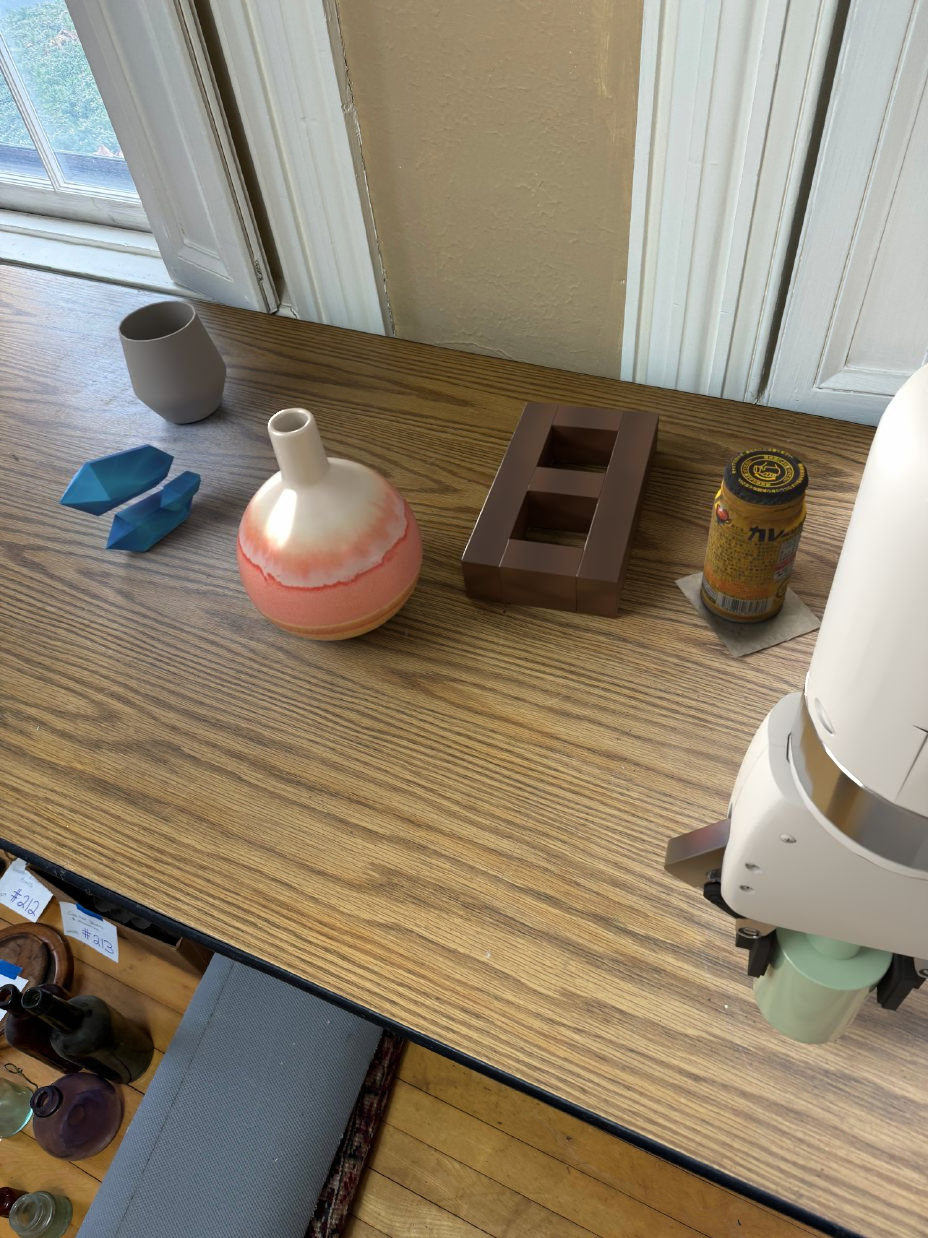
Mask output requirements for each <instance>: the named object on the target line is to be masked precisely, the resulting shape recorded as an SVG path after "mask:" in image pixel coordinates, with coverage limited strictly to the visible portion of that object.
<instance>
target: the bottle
mask: <svg viewBox="0 0 928 1238" xmlns="http://www.w3.org/2000/svg"><path fill="white" fill-rule="evenodd" d="M893 955H894V953H893V952H888V951H884V950H879V949H875V948H870V947H866V946H861V945H857V944H852V943H848V942H843V941H839V940H834V939H830V938H826V937H821V936H817V935H812V934H808V933H804V932H800V931H795V930H791V929H787V928H783V927H777V928H776V941H775V949H774V952H773V955H772V957H771V960H770V962H769V965H768V968H767V970H766V973H765V975H764V976H761V975H760V978H756V977H752V978H753V979H752V987H753V988H752V990H753V995H754V999H755V1003H756V1005H757V1007H758V1009H759V1011H760V1013H761V1014H762V1016H763V1017H764V1019H765V1020H766V1021H767V1022H768V1024H769V1025H770V1026H772V1027H773V1028H774V1030H776V1031H777V1032H779V1033H780V1034H781V1035H783V1036H784V1037H786V1038H788V1039H790V1040H793V1041H794V1042H798V1043H801V1044H805V1045H806V1044H807V1045H824V1044H828V1043H831V1042H833V1041H835V1040H837V1039H839V1038H840V1037H841V1036H843V1035H844V1034H845V1033H846V1032H847V1031H848V1029H849V1028H850V1027H851V1025H852V1024H853V1022H854V1021H855V1019H856V1018H857V1016H858V1015H859V1013H860V1012H861V1011H862V1009H863V1007H864V1006H865V1005H866V1004H867V1002H868V1000H869V999H870V998H871V996H872V994H873V993H874V991H875V990H876V989H877V986H878V984H879V983H880V981H881V980H882V978H883V977H884V975H885V974H886V972H887V971H888V969H889V967H890V965H891V962H892V959H893Z"/></svg>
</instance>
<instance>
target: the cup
mask: <svg viewBox="0 0 928 1238" xmlns="http://www.w3.org/2000/svg"><path fill="white" fill-rule="evenodd" d="M117 331H118V336H119V339H120V345H121V348H122V351H123V355H124V359H125V363H126V367H127V371H128V375H129V379H130V383H131V386H132V391H133V393H134V395H135V396H136V398H137V399H138V400H140V402H142V403H143V404H144V405H145V406H146V407H147V408H149V409H150V410H152V411H153V412H155V414H157V415H158V416H159V417H161V419H163V420H165V421H166V422H170V423H174V424H190V423H194V422H195V423H196V422H198V421H201V420H203V419H205V418H207V417H209V416H210V415H212V414H213V413H214V412H216V410H217V409H218V408H219V407H220V406H221V403H222V400H223V395H224V391H225V386H226V385H225V384H226V378H227V367H226V364H225V360H224V358H223V356H222V354H221V352H220V351H219V348H218V347H217V345H216V343H215V342H214V340H213V338H212V336H211V335H210V332H209V331H208V329H207V328H206V325H205V324H204V322H203V320H202V319H201V317H200V315H199V314H198V312H197V309H196V308H195V306H193V305H192V304H190V303H189V302H187V301H181V300H163V301H156V302H153V303H150V304H147V305H143V306H141V307H139V308H137V309H135V310H133V311H131V312H130V313H128V314H126V316H125V317H124V318H122V320H120V323H119V325H118V326H117Z"/></svg>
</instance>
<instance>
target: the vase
mask: <svg viewBox="0 0 928 1238" xmlns="http://www.w3.org/2000/svg"><path fill="white" fill-rule="evenodd" d="M267 430H268V435H269V438H270V442H271V445H272V447H273V452H274V455H275V458H276V461H277V465H278V467H279V470H278V471H277V472H276V473H275V474H273V475H271V477H269V478H268V479H267V480H266V481H265V482H264V483H263V484H262V485H260V487H259V489H257V491H256V492H255V494H254V495H253V497H252V498H251V499H250V501H249V503H248V505H247V506H246V509H245V510H244V512H243V514H242V517H241V520H240V524H239V527H238V530H237V537H236V548H235V551H236V561H237V567H238V574H239V577H240V581H241V584H242V586H243V588H244V590H245V593H246V595H247V597H248V599H249V600H250V602H251V603H252V604H253V605H254V607H255V608H256V610H257V611H258V612H259V613H260V615H262V616H263V617H264V618H265V619H266V620H267V621H269V622H270V623H271V624H272V625H274V626H276V627H277V628H279V629H281V630H282V631H284V632H286V633H289V634H291V635H293V636H297V637H299V638H303V639H308V640H312V641H313V640H314V641H323V642H324V641H325V642H327V641H328V642H330V641H331V642H332V641H342V640H347V639H352V638H355V637H359V636H362V635H364V634H365V635H366V634H367V633H368V632H369V633H370V632H371V631H373V630H376V629H377V628H379V627H380V626H382V625H384V624H385V623H386V622H388V621H389V620H391V619H392V618H393V617H394V616H395V615H396V614H397V613H398V612H399V611H400V610H401V609H402V608H403V607H404V605H405V604H406V603H407V602H408V600H409V599H410V597H411V596H412V594H413V592H414V590H415V588H416V587H417V584H418V582H419V578H420V575H421V571H422V568H423V557H424V547H423V538H422V532H421V529H420V525H419V522H418V521H417V518H416V516H415V513H414V510H413V509H412V507H411V505H410V504H409V502H408V501H407V499H406V498H405V496H404V495H403V494H402V492H401V491H400V490H399V489H398V488H397V487H396V486H395V485H394V484H393V483H392V482H391V481H389V480H388V479H387V478H386V477H385V476H384V475H382V474H380V473H379V472H378V471H376V470H374V469H372V468H371V467H368V466H366V465H364V464H361V463H358V462H356V461H352V460H349V459H345V458H338V457H328V456H327V453H326V450H325V448H324V444H323V441H322V438H321V437H322V436H321V435H320V431H319V428H318V424H317V422H316V419H315V417H314V415H313V414H312V413H311V411H309V410H307V409H304V408H301V407H293V408H287V409H283V410H281V411H279V412H277V413H276V414H274V415H273V416H272V417H271V418H270V420H269V421H268V424H267Z"/></svg>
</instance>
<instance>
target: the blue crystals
mask: <svg viewBox="0 0 928 1238" xmlns="http://www.w3.org/2000/svg"><path fill="white" fill-rule="evenodd" d="M174 459H175V456H174V455H172V454H170V453H168V452H165V451H164V450H161V449H159V448H158V447H156V446H154V445H151V444H149V443H146V444H143V445H142V444H141V445H139V446H136V447H133V448H128V449H125V450H123V451H119V452H115V453H111V454H108V455H105V456H102V457H101V456H100V457H98V458H95V459H91V460H88V461H86V462H84V464H83V465H82V466H81V467H80V468H79V470H77V472H76V473H75V474H74V475H73V477H72V478H71V481H70V482H69V483H68V485H67V487H66V489H65V491H64V493H63V495H62V497H61V499H60V500H59V502H58V505H60V506H61V505H62V506H65V507H67V508H70V509H73V510H76V511H80V512H83V513H86V514H89V515H91V516H95V517H101V516H102V515H104V514H106V513H108V512H110V511H112V510H114V509H116V508H118V507H120V506H122V505H124V504H126V503H127V502H130V501H131V500H133V499H135V498H137V497H139V496H141V495H143V494H145V493H147V492H149V491H151V490H154V489H155V488H157V486H159V485H160V484H161V483H162V482H163V481H164V480H165V479H166V478H168V476H169V473H170V470H171V467H172V466H173V465H172V464H173V462H174ZM201 484H202V477H201V474H200V473H198V472H197V473H196V472H194V471H191V470H185V471H183V472H182V473H180V474H179V475H178V476H176V477H175V478H173V479H172V480H169V482H167V483H166V484H164V485H163V486H162V489H160V490H158V491H156V492H154V493H152V494H151V495H148V496H147V497H145V498H143V499H141V500H139V501H137V502H135V503H133V504H131V505H129V506H127V507H125V508H124V509H122V510H120V511H118V512H116V513H114V516H113V519H112V524H111V527H110V531H109V535H108V538H107V543H106V546H105V550H112V551H113V550H114V551H125V552H137V553H138V552H140V553H145V552H147V551H148V550H149V549H151V547H152V548H153V546H154V545H156V544H157V543H158V542H159V541H161V540H162V539H163V538H165V537H166V536H167V535H169V534H170V533H171V532H172V531H173V530H174V529H176V528H177V527H179V526H180V525H181V524H182V523H183V522H185V521H186V520H187V519H189V517H190V514H191V510H192V509H191V508H192V504H193V498H194V496H196V494H197V493H198V492H199V490H200V486H201Z"/></svg>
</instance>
